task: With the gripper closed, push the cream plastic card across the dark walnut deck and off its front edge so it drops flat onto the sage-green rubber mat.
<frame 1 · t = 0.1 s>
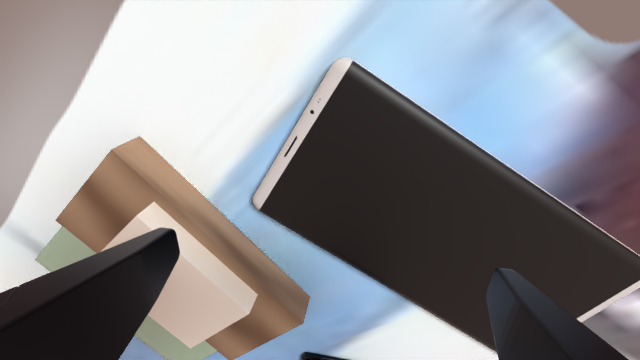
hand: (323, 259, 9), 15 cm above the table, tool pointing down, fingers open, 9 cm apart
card: (180, 272, 27), point 3 cm above the table, touching deck
smartphone: (439, 225, 25), on the table
mat: (143, 293, 34), on the table
deck: (198, 249, 30), on the table
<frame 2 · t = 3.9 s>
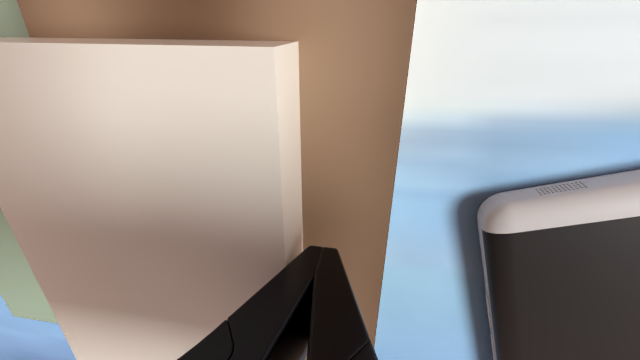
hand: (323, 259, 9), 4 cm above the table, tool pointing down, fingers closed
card: (183, 221, 11), point 3 cm above the table, touching gripper
mat: (46, 167, 14), on the table
deck: (259, 185, 13), on the table
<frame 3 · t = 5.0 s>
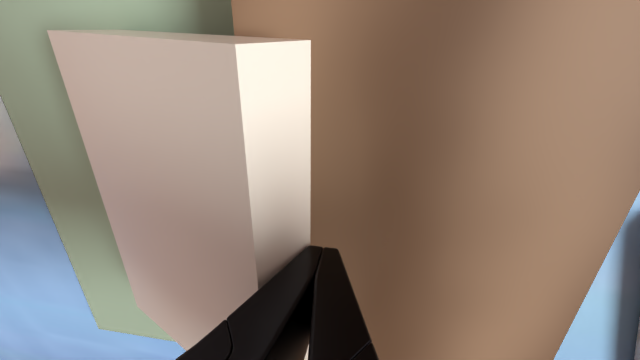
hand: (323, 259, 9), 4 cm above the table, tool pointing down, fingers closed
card: (217, 208, 11), point 2 cm above the table, tilted 26°, touching gripper, mat
mat: (164, 176, 14), on the table
deck: (406, 198, 12), on the table
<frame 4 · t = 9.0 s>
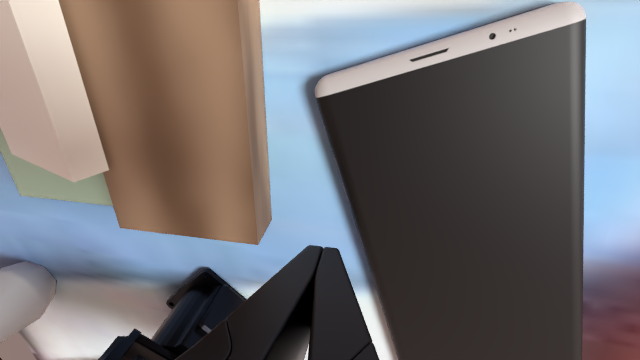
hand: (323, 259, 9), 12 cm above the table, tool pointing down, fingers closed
salt shaker: (40, 276, 32), on the table
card: (45, 71, 19), point 2 cm above the table, tilted 21°, touching deck, mat
smartphone: (461, 240, 23), on the table
mat: (45, 68, 21), on the table
deck: (185, 75, 20), on the table
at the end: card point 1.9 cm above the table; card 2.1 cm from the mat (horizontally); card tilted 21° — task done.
